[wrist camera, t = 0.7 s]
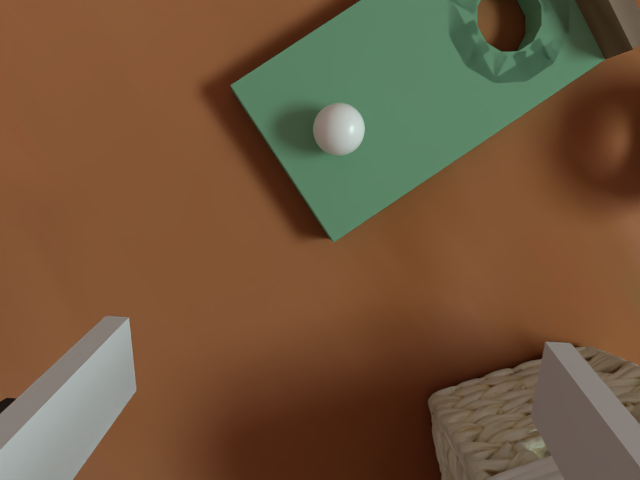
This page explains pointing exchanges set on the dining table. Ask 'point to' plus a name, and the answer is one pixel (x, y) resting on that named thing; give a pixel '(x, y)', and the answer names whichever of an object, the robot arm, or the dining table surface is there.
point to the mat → (405, 94)
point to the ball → (338, 129)
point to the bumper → (612, 24)
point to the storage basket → (511, 420)
